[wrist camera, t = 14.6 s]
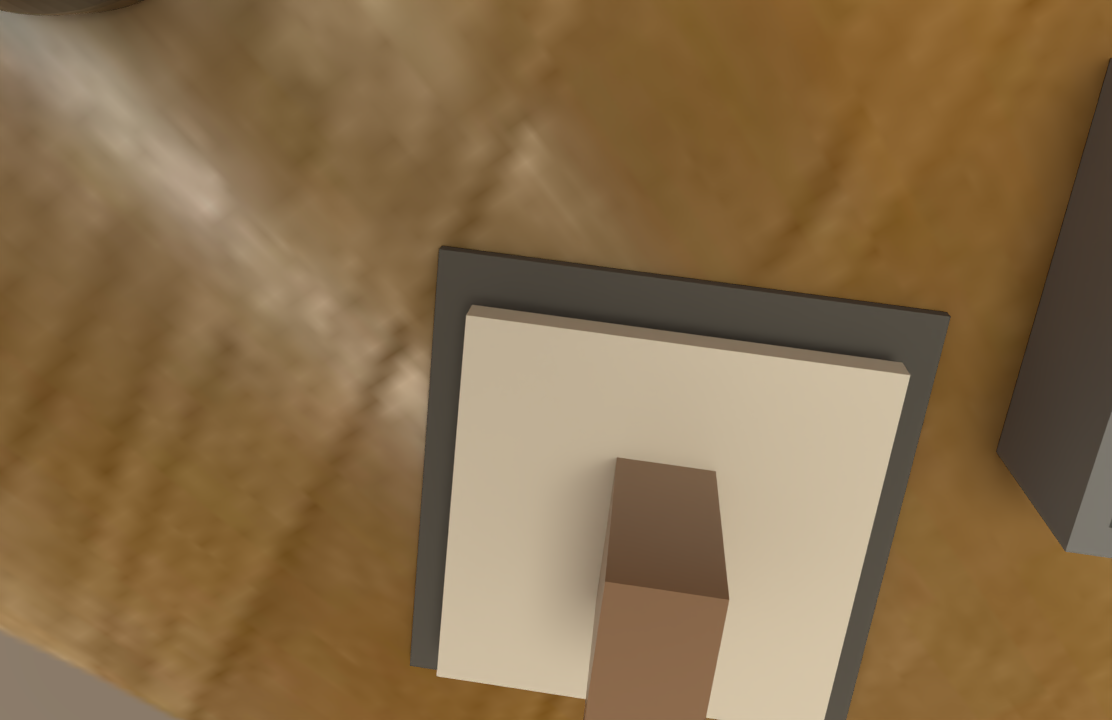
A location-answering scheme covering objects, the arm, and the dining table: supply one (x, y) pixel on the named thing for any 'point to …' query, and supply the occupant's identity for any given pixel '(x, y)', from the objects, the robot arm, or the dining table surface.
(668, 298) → the mat
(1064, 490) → the box
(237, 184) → the dining table surface
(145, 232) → the dining table surface
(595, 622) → the lid
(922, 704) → the dining table surface
